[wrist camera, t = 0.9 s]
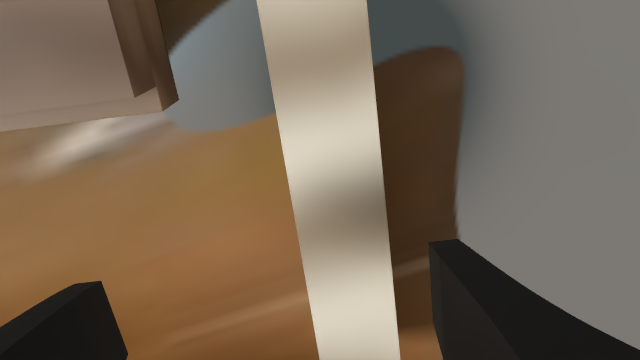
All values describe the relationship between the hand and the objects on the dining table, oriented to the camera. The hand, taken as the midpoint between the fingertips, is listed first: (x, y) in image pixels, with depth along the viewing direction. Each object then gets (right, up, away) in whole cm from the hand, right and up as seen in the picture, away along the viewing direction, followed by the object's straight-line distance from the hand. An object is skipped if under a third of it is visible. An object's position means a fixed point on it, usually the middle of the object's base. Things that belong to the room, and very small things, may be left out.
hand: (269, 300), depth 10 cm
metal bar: (+2, +3, +10) cm, 10 cm away
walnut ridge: (-10, +8, +8) cm, 15 cm away
